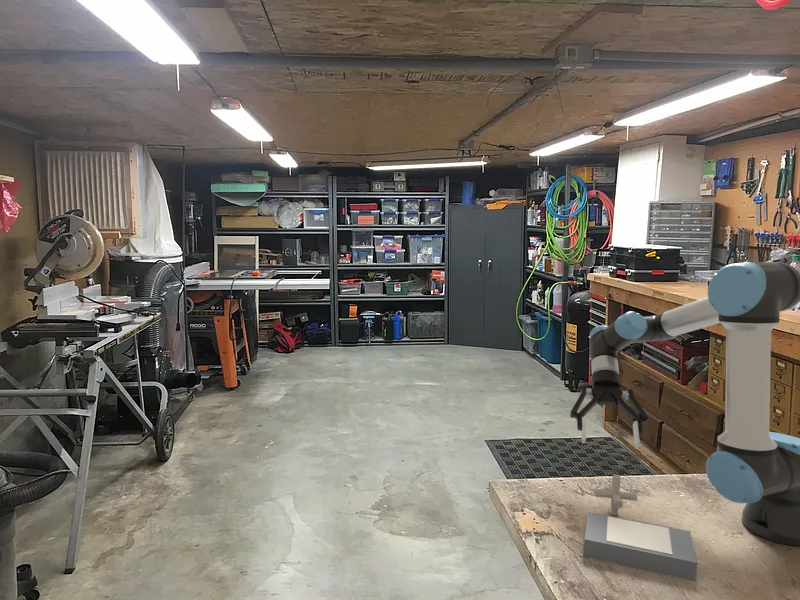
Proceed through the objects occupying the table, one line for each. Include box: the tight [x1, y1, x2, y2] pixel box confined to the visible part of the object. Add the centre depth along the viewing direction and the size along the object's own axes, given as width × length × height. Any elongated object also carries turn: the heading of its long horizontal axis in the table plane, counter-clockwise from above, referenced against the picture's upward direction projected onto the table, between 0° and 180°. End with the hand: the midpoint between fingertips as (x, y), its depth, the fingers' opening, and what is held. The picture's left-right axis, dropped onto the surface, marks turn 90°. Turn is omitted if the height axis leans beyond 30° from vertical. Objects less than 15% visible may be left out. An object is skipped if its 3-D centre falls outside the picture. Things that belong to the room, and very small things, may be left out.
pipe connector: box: [593, 474, 638, 516], centre depth 139 cm, size 10×10×10 cm
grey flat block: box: [582, 511, 698, 582], centre depth 123 cm, size 22×13×4 cm, turn 68°
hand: (610, 443), depth 148 cm, fingers open, 13 cm apart
